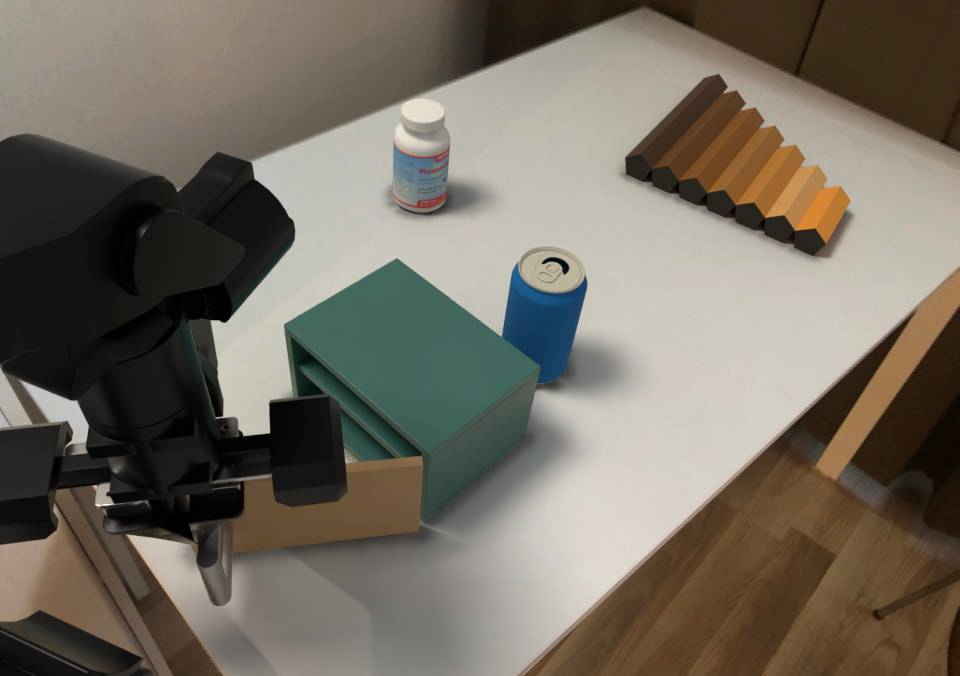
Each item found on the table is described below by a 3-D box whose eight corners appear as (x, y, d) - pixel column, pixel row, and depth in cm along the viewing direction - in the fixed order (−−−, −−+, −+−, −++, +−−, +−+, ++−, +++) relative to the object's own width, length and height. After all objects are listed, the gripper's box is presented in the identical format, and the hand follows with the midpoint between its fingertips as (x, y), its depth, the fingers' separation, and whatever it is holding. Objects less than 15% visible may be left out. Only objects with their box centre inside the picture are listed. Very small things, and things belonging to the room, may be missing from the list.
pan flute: (699, 91, 112) (621, 171, 97) (707, 69, 110) (627, 148, 95) (875, 159, 104) (818, 258, 89) (886, 136, 102) (831, 234, 87)
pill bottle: (425, 222, 87) (430, 133, 79) (381, 200, 89) (381, 111, 81) (456, 195, 91) (463, 108, 83) (413, 175, 93) (416, 88, 85)
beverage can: (578, 357, 76) (603, 263, 67) (545, 400, 72) (567, 307, 63) (520, 327, 78) (537, 232, 69) (485, 367, 74) (498, 272, 65)
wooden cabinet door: (429, 601, 58) (434, 539, 51) (190, 633, 55) (163, 571, 48) (417, 522, 62) (422, 455, 55) (195, 548, 59) (171, 480, 52)
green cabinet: (424, 523, 62) (429, 453, 55) (293, 399, 69) (283, 323, 62) (525, 438, 69) (541, 366, 62) (395, 332, 76) (397, 257, 69)
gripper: (325, 254, 45) (339, 417, 57) (-36, 279, 42) (57, 448, 53) (341, 411, 38) (353, 560, 50) (-94, 457, 34) (28, 607, 46)
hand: (198, 537), depth 50 cm, fingers closed
